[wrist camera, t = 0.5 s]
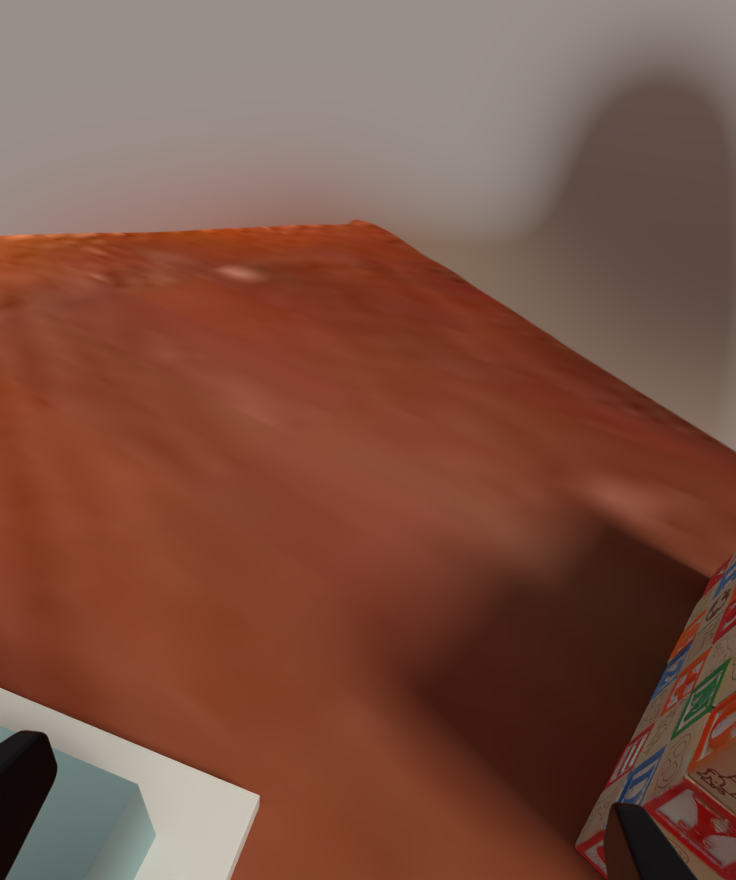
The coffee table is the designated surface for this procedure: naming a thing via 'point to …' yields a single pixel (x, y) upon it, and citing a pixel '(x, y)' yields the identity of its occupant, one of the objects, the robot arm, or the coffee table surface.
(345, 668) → the coffee table surface
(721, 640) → the stack of blocks
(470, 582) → the coffee table surface
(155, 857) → the board
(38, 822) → the block
